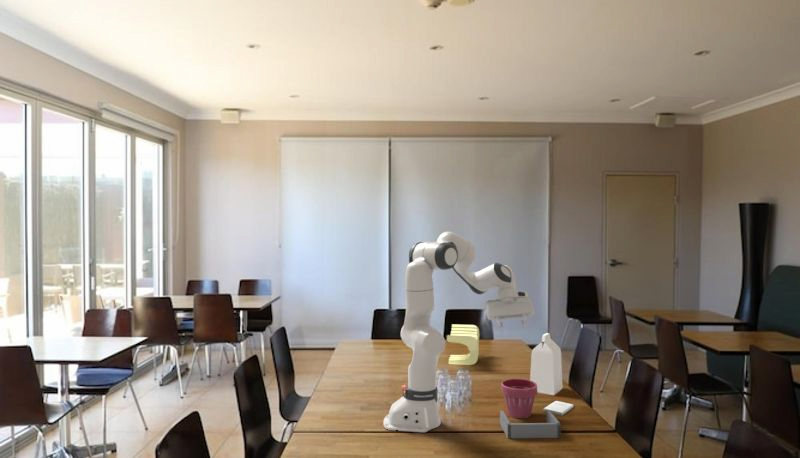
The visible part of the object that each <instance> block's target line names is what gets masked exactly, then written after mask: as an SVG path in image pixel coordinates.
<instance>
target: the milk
mask: <svg viewBox="0 0 800 458" xmlns="http://www.w3.org/2000/svg"><path fill="white" fill-rule="evenodd" d="M562 369H563V368H562V350H561V348H560V347H559V345H558V344H556V342H555V341H554V340H553V339H552V338H551V334H550V332H549V333H548V332H546V333H544V334H542V336H541V342H539V343H538V344H537V345H536V346H535V347H534V348H533V349H532V350H531V358H530V373H529V375H530V377H529V380H530V381H533V382H535V383H536V384H537V393H538V394H544V395H550V396H555V395H556V394H558V393H559V392H560V391H561V390H563V370H562Z"/></svg>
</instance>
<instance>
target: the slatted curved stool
mask: <svg viewBox="0 0 800 458" xmlns="http://www.w3.org/2000/svg"><path fill="white" fill-rule="evenodd" d="M450 329H451V331H450V334H447V335H446V341H447V342H448V343H457V344H461V345H464V346H466V347H467V349H468V351H469V353H466V354H450V356H449V357H448V365H463V366H465V365H467V366H472V365H475V364H476V363H477V362H478V360H479V359H478V358H479V353H480V352H479V349H480V347H479V346H480V344H479V342H480V328H479V327H478V326H477V325H475V324H457V323H456V324H452V323H451V328H450Z"/></svg>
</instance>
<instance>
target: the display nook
mask: <svg viewBox="0 0 800 458" xmlns="http://www.w3.org/2000/svg"><path fill="white" fill-rule="evenodd" d="M545 412H546V413H545V415H546V418H545V419H546V421H545V422H534V423H533V422H529V423H528V422H526V423H524V422H523V423H519V422H517V423H515V422H514V423H513V422H512V423H511V422H510V421H509V419H508V416H507V414H506V413H505V412H504V410H499V425H500V426H501V428H502V430H503V432H504V434H505V436H506V437H507V439H559V438H560V439H561V438H562V424H561V423H560V421H559V420H558V419H557V417H555V415H554V413H551V411H550V410H546V411H545Z"/></svg>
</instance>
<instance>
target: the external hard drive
mask: <svg viewBox="0 0 800 458" xmlns="http://www.w3.org/2000/svg"><path fill="white" fill-rule="evenodd" d="M574 406H575V405H574V404H573V403H568V402H563V401H561V400H559V401H558V400H555V401H553V402H552V403H550V404H548V405H547V406H546V407H543V409H542V411H543V412H546V410H550V411H551V413H552V414H553V415H554V414H555V415H559V416H563V415H565V414H567V412H569V411H570V410H572V409H573V408H574Z"/></svg>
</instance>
